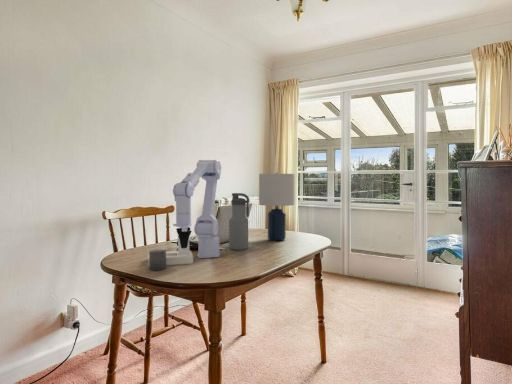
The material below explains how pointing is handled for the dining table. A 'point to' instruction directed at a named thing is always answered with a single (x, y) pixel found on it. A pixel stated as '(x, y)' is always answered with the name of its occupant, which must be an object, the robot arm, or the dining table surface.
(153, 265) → the round peg
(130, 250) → the dining table surface
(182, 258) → the bore plate
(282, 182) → the lamp
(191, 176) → the robot arm
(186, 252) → the square peg
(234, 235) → the water bottle
